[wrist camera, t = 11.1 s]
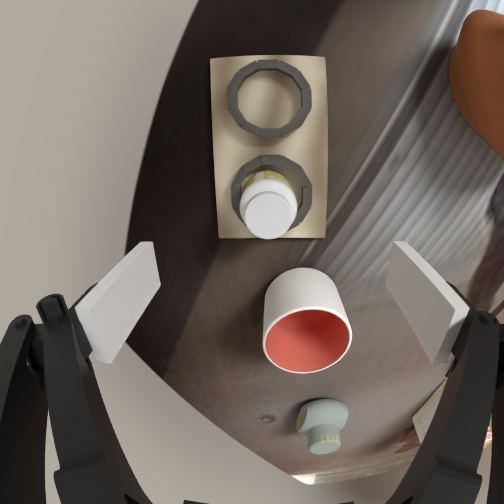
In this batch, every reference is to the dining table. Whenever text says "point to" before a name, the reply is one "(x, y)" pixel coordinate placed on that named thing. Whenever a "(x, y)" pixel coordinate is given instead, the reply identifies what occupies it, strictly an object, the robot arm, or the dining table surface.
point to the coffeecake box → (427, 412)
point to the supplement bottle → (268, 204)
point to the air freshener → (322, 424)
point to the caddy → (270, 135)
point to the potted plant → (481, 75)
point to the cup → (304, 322)
